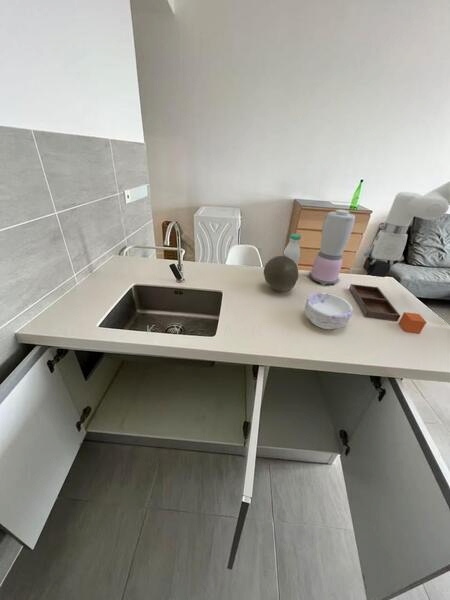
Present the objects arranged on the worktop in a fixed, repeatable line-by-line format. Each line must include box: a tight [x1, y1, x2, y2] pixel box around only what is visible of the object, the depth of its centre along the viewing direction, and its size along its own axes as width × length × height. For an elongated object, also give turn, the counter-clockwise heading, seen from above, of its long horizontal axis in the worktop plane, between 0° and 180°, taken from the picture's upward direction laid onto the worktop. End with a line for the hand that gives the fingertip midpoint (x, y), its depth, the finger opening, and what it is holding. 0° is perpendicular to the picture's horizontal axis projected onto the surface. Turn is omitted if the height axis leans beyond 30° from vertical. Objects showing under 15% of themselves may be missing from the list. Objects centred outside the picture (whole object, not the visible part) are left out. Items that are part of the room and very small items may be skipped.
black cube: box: [369, 259, 391, 278], centre depth 98 cm, size 5×5×5 cm
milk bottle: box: [282, 233, 302, 268], centre depth 115 cm, size 8×8×20 cm
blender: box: [309, 209, 356, 287], centre depth 110 cm, size 16×12×32 cm
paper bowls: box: [303, 292, 354, 330], centre depth 86 cm, size 15×15×8 cm
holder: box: [348, 283, 401, 322], centre depth 100 cm, size 12×22×3 cm, turn 171°
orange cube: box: [398, 311, 427, 334], centre depth 85 cm, size 5×5×5 cm
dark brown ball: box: [263, 255, 299, 292], centre depth 102 cm, size 14×14×15 cm
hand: (376, 273), depth 99 cm, fingers closed on black cube, 5 cm apart
